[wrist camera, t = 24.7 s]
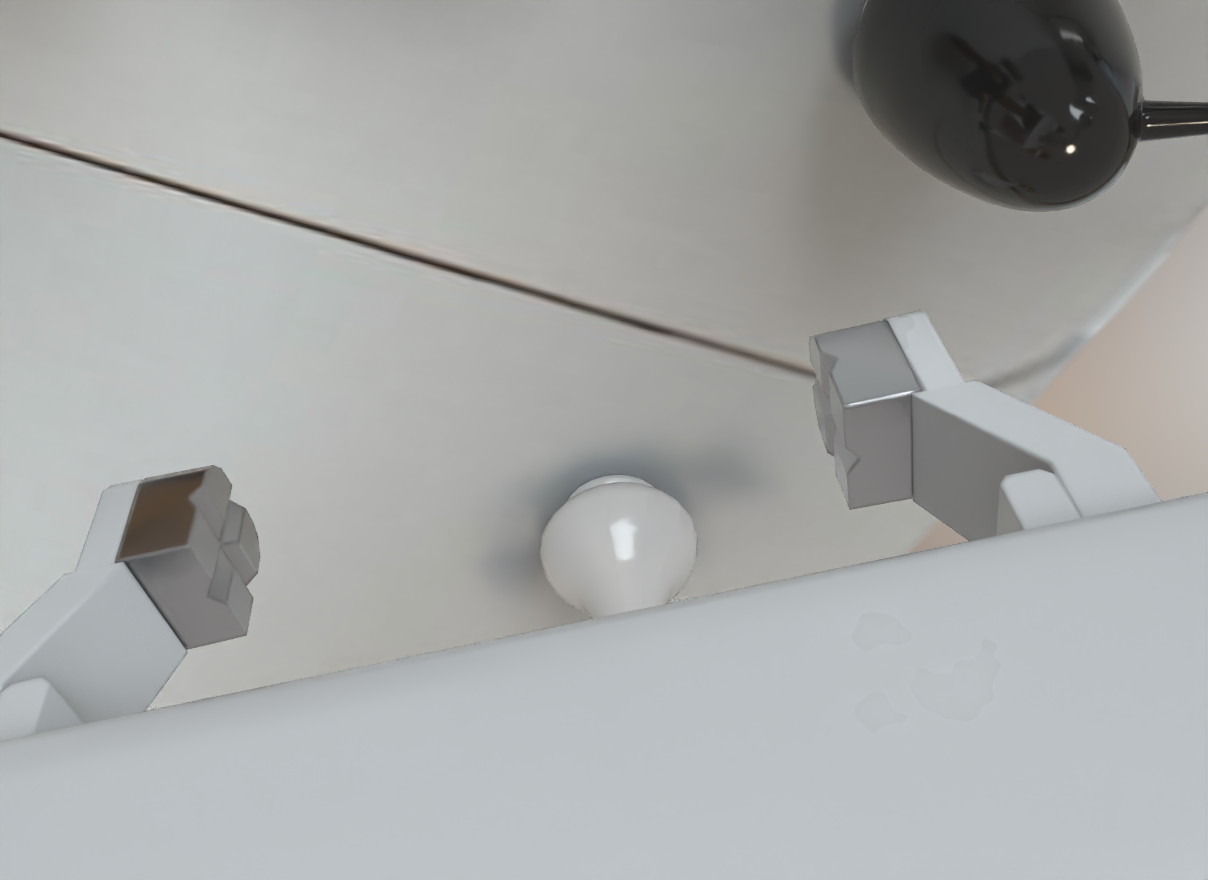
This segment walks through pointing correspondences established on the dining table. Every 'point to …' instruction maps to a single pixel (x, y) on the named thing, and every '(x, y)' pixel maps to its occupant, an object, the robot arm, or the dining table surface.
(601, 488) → the flower vase
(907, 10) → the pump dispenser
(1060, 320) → the dining table surface
